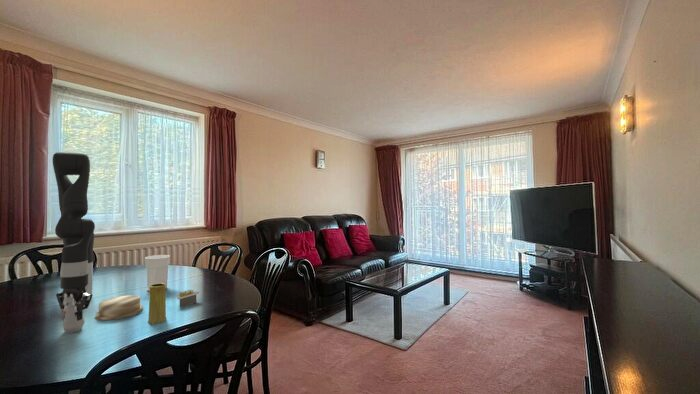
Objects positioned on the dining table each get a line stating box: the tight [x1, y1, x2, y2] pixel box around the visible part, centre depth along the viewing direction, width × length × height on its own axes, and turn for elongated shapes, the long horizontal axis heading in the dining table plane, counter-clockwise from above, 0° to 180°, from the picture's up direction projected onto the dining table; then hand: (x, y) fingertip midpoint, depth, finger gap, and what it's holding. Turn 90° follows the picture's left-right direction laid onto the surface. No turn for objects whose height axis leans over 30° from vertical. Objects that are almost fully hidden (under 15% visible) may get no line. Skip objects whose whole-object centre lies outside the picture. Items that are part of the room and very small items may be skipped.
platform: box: [176, 289, 200, 308], centre depth 138 cm, size 12×18×7 cm, turn 151°
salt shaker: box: [62, 296, 85, 334], centre depth 109 cm, size 6×6×13 cm
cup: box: [144, 254, 171, 293], centre depth 159 cm, size 11×11×17 cm
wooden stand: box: [94, 294, 144, 321], centre depth 127 cm, size 16×16×5 cm
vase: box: [147, 283, 167, 325], centre depth 119 cm, size 6×6×14 cm
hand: (73, 320), depth 109 cm, fingers closed on salt shaker, 3 cm apart
